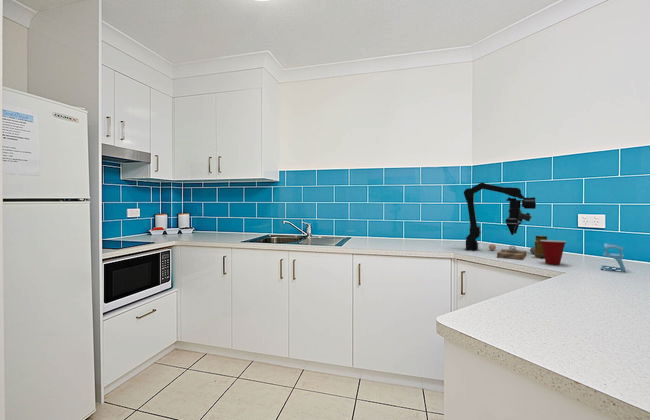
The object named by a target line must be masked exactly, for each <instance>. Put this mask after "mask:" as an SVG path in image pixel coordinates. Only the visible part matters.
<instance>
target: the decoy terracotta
mask: <svg viewBox="0 0 650 420" xmlns="http://www.w3.org/2000/svg"><path fill="white" fill-rule="evenodd" d="M496 248H497V247H496V245H495V244H493V243H491V244H489V245H488V249H489V250H490V251H495V250H496Z"/></svg>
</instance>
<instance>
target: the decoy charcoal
mask: <svg viewBox="0 0 650 420" xmlns="http://www.w3.org/2000/svg"><path fill="white" fill-rule="evenodd" d="M529 252H530V253H531V254H533V255H535V246H532V247H530V249H529Z"/></svg>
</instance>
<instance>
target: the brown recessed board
mask: <svg viewBox="0 0 650 420" xmlns="http://www.w3.org/2000/svg"><path fill="white" fill-rule="evenodd" d="M526 256H527V250H517V249H516V250H509V249H505V248H502V249H501V250H499V251H498V252H497V253H496V258H497V257H498V259H499V258H500V259H509V260H519V261H523V260H524V259H525V258H526Z"/></svg>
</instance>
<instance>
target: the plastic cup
mask: <svg viewBox="0 0 650 420" xmlns="http://www.w3.org/2000/svg"><path fill="white" fill-rule="evenodd" d="M540 241H541V244H542V247H543V253H544V257H545V259H544V261H545V264H547V265H553V266H554V265H555V266H559V265H560V264H561V261H562V258H563V252H564V248H565V245H566V243H567V240H556V239H555V240H554V239H547V240H540Z"/></svg>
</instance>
